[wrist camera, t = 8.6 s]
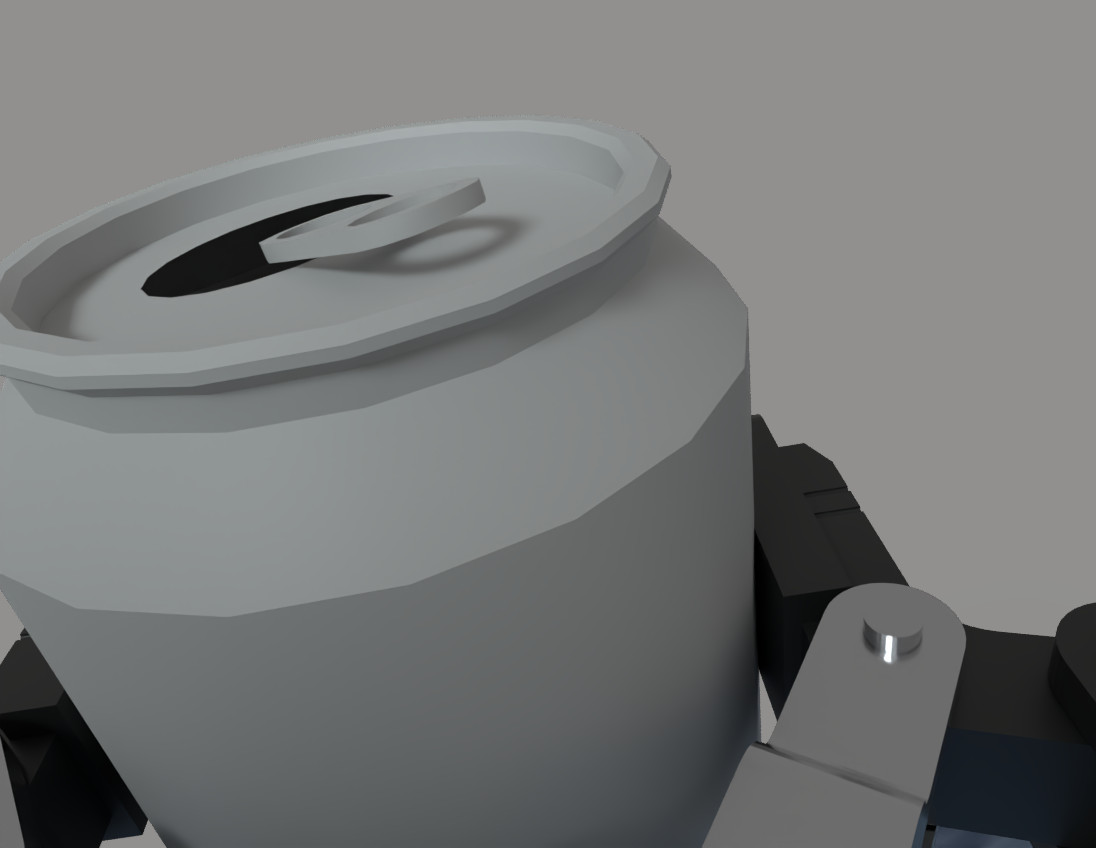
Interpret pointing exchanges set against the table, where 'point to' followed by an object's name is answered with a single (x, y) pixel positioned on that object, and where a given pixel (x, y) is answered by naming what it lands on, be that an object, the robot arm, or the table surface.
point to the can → (391, 493)
